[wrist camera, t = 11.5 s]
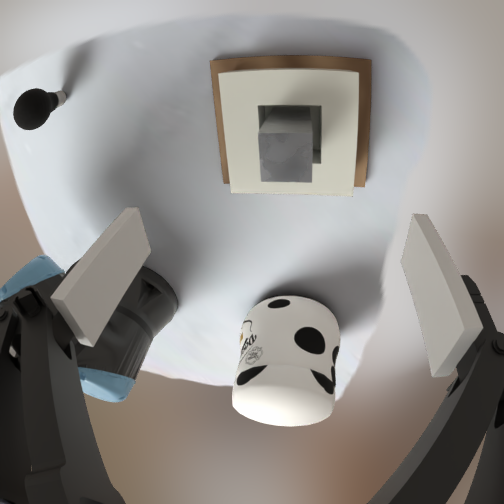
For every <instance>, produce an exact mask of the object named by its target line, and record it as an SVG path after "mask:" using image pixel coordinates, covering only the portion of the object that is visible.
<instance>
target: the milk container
mask: <svg viewBox="0 0 504 504" xmlns="http://www.w3.org/2000/svg"><path fill="white" fill-rule="evenodd" d="M339 348H340V331H339V327H338V323H337V320H336V318H335V316H334V315H333V313H332V312H331V311H330V310H329V309H328V308H327V307H326V306H325V305H323V304H321V303H320V302H318V301H316V300H314V299H311V298H307V297H303V296H297V295H281V296H275V297H272V298H268V299H265V300H263V301H261V302H260V303H258V304H257V305H256V306H254V307H253V308H252V309H251V310H250V311H249V313H248V314H247V316H246V318H245V320H244V322H243V325H242V328H241V332H240V351H241V356H240V362H239V365H238V369H237V373H236V377H235V382H234V385H233V393H232V402H233V407H234V408H235V409H236V410H237V411H238V412H239V413H240V414H242V415H244V416H246V417H248V418H250V419H252V420H256V421H258V422H261V423H266V424H271V425H279V426H300V425H309V424H312V423H317V422H320V421H322V420H324V419H326V418H327V417H329V415H330V414H331V412H332V411H333V408H334V403H335V385H336V379H335V363H336V359H337V355H338V352H339Z"/></svg>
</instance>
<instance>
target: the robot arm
mask: <svg viewBox="0 0 504 504" xmlns="http://www.w3.org/2000/svg"><path fill="white" fill-rule="evenodd" d="M150 253H151V248H150V245H149V242H148V238H147V235H146V232H145V228H144V225H143V222H142V218H141V215H140V211H139V207H133V208H125V210H124V211H123V212H122V213H121V214H120V215H119V216H118V217H117V218H116V219H115V220H114V221H113V222H112V224H111V225H110V226H109V227H108V228H107V229H106V230H105V231H104V232H103V233H102V235H101V236H100V237H99V238H98V239H97V240H96V241H95V243H94V244H93V245H92V246H91V247H90V248H89V250H88V251H87V252H86V253H85V254H84V255H83V257H82V258H81V259H79V260H78V261H77V262H75V263H74V264H73V265H72V266H71V267H70V268H69V269H68V271H67V272H66V274H65V271H64V270H63V269H61V268H60V267H59V266H58V265H57V264H56V263H55V262H54V261H53V260H52V259H51V258H50V257H48V256H46V255H39V256H37V257H36V258H34V259H33V260H32V261H30V262H29V263H28V264H26V265H25V266H24V267H23V268H22V269H20V270H19V271H18V272H17V273H16V274H15V275H14V276H13V277H12V278H11V279H9V280H8V281H7V282H6V284H5V285H4V286H3V287H2V288H1V289H0V504H126V503H125V501H124V500H123V498H122V496H121V495H120V494H119V492H118V491H117V490H116V489H115V488H114V487H113V485H112V484H111V482H110V480H109V477H108V475H107V472H106V469H105V467H104V464H103V461H102V458H101V455H100V452H99V449H98V446H97V443H96V440H95V436H94V433H93V429H92V426H91V423H90V419H89V415H88V411H87V407H86V403H85V399H84V394H83V392H84V393H86V394H88V395H91V396H93V397H95V398H98V399H101V400H105V401H109V402H120V401H123V400H125V399H126V398H127V396H128V394H129V392H130V390H131V389H132V387H133V385H134V384H135V382H136V381H135V380H136V377H137V375H138V373H139V370H140V368H141V366H142V363H143V361H144V359H145V356H146V354H147V352H148V349H149V347H150V345H151V343H152V340H153V338H154V337H155V336H156V335H157V334H158V333H159V332H160V331H161V330H162V329H163V328H164V327H165V325H167V324H168V323H169V322H170V321H171V320H172V318H173V316H174V314H175V312H176V310H177V298H176V295H175V293H174V291H173V290H172V288H171V287H170V285H169V284H168V283H167V282H166V281H165V280H164V279H163V278H162V277H160V276H159V275H158V274H156V273H155V272H153V271H151V270H150V269H148V268H145V267H143V266H142V265H143V264H144V262H145V260H146V259H147V257H148V256H149V254H150ZM401 264H402V267H403V269H404V273H405V276H406V278H407V281H408V285H409V288H410V291H411V295H412V298H413V301H414V305H415V308H416V312H417V315H418V319H419V323H420V327H421V331H422V334H423V338H424V342H425V347H426V351H427V356H428V360H429V365H430V370H431V374H432V377H442V376H449V375H450V374H451V373H452V372H453V370H454V369H455V368H457V372H458V377H457V378H456V379H455V380H454V381H453V383H452V384H451V385H450V386H449V387H448V389H447V391H448V393H447V395H446V397H445V399H444V400H443V402H442V404H441V405H440V407H439V409H438V411H437V412H436V414H435V415H434V417H433V419H432V420H431V422H430V423H429V425H428V427H427V428H426V430H425V431H424V433H423V434H422V436H421V437H420V438H419V440H418V442H417V443H416V444H415V446H414V447H413V448H412V450H411V451H410V453H409V454H408V455H407V457H406V458H405V459H404V461H403V462H402V463H401V464H400V466H399V467H398V468H397V470H396V471H395V472H394V473H393V475H392V476H391V477H390V478H389V479H388V481H387V482H386V483H385V484H384V485H383V486H382V488H381V489H380V490H379V491H378V492H377V493H376V494H375V496H374V497H373V498H372V499H371V500H370V501H369V502H368V503H367V504H446V502H447V501H448V499H449V498H450V496H451V494H452V493H453V492H454V490H455V488H456V487H457V485H458V483H459V482H460V480H461V478H462V477H463V475H464V473H465V472H466V470H467V468H468V467H469V465H470V463H471V461H472V459H473V457H474V456H475V453H476V452H477V449H478V448H479V446H480V444H481V442H482V440H483V438H484V435H485V433H486V431H487V433H486V437H485V441H484V445H483V449H482V453H481V456H480V460H479V463H478V466H477V470H476V473H475V476H474V479H473V482H472V485H471V487H470V490H469V493H468V496H467V498H466V501H465V503H464V504H504V334H503V333H501V332H497V330H496V327H495V325H494V322H493V320H492V318H491V315H490V313H489V311H488V308H487V306H486V304H484V300H483V298H482V296H481V293H480V291H479V289H478V287H477V286H476V284H475V283H474V281H473V280H472V279H471V278H470V277H469V276H468V275H460V273H459V271H458V269H457V267H456V265H455V264H454V262H453V260H452V258H451V256H450V254H449V252H448V250H447V248H446V247H445V245H444V243H443V241H442V239H441V238H440V236H439V234H438V232H437V230H436V229H435V227H434V225H433V224H432V222H431V220H430V219H429V217H428V215H424V214H412V219H411V223H410V228H409V232H408V236H407V240H406V244H405V248H404V252H403V256H402V259H401ZM31 466H32V472H31Z"/></svg>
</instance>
